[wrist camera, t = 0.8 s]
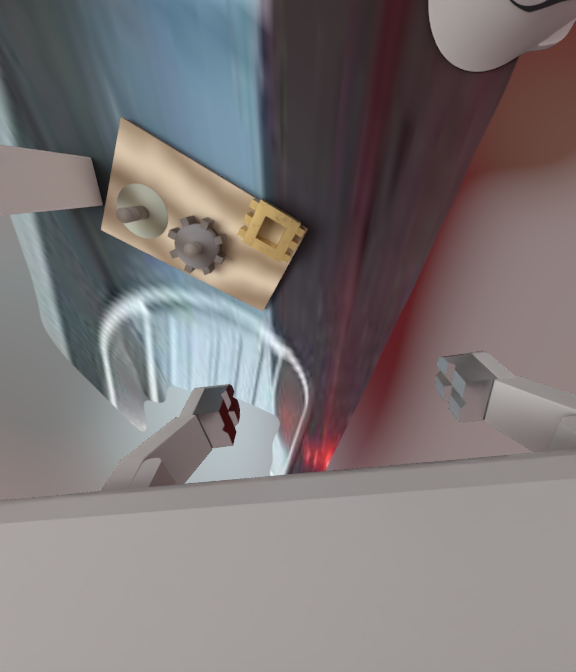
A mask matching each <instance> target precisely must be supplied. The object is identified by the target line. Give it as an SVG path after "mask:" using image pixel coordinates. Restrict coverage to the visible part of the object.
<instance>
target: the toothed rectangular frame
mask: <svg viewBox="0 0 576 672" xmlns="http://www.w3.org/2000/svg"><path fill="white" fill-rule="evenodd" d="M249 207H250V208H252V209H254V210H256V211H255V214H254V215H253V214H252V213H250V212H249V213H247V214H246V215H245V217H244V220H243V221H244V222H245V223H247V224H249V227H248V228H247V227H245V226H244V225H243V226H242V227H241V228H240V229H239V231H238V234H237V235H238V236H240V237H242V238H244V239H243V241H242V242H243V243H245V244H247V245H248V246H250V247H252V248H254V249H256V250H257V251H259V252H261V253H263V254H265V255H266V256H268V257H270V258H272V259H274V260H275V261H277V262H279V263H280V262H281V260H283V261H285V262H286V263H288V262H289V260H290V258H291V252H289V251H287V249H288V247H289V248H291V249H292V250H294V251H295V249H296V247H297V245H298V241H297V240H296V239H294V236H295V234H296V235H298V236H299V237H301V238H302V236H303V234H304V232H305V228H304V227H302V226H300V224H301V221H299V220H298V219H296V218H294V217H293V216H291V215H289V214H288V213H286V212H284V211H283V210H281V209H280V208H278V207H276V206H275V205H273V204H271V203H270V202H268V201H266V200H265V199H261V200H260V201H259V200H257V199H256V198H254V199H252V201H251V203H250V206H249ZM266 216H267V217H269V218H270V219H272V220H274V221H275V222H277V223H279V224H281V225H282V226H284V227H286V229H285V231H284V233H283V235H282V237H281V239H280V241H279V243H278V245H276V244H274V243H272V242H271V241H269V240H267V239H265V238H264V237H262V236H260V235H258V233H259V231H260V229H261V227H262V225H263V223H264V221H265V218H266Z"/></svg>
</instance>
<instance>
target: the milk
mask: <svg viewBox="0 0 576 672" xmlns="http://www.w3.org/2000/svg"><path fill="white" fill-rule="evenodd" d="M101 205H103V203H102V199H101V195H100V191H99V187H98V183H97V179H96V175H95V171H94V167H93V163H92V160H91V158H90V157H84V156H77V155H70V154H63V153H56V152H48V151H41V150H34V149H27V148H20V147H12V146H5V145H0V215H11V214H21V213H31V212H41V211H51V210H61V209H71V208H81V207H91V206H101Z"/></svg>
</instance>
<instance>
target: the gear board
mask: <svg viewBox="0 0 576 672" xmlns="http://www.w3.org/2000/svg"><path fill="white" fill-rule="evenodd" d="M254 198H256V197H254V196H253V195H251V194H250V193H248V192H246V191H245V190H243V189H241V188H240V187H238V186H236V185H235V184H233V183H231V182H230V181H228V180H226V179H225V178H223V177H221V176H220V175H218V174H216V173H215V172H213V171H211V170H210V169H208V168H206V167H205V166H203V165H201V164H200V163H198V162H197V161H195V160H193V159H192V158H190V157H188V156H187V155H185V154H183V153H182V152H180V151H178V150H177V149H175V148H173V147H172V146H170V145H168V144H167V143H165V142H163V141H162V140H160V139H158V138H157V137H155V136H153V135H152V134H150V133H149V132H147V131H145V130H144V129H142V128H140V127H139V126H137V125H135V124H134V123H132V122H130V121H129V120H127V119H124V118H122V117H121V120H120V125H119V131H118V137H117V142H116V148H115V154H114V159H113V165H112V170H111V176H110V182H109V187H108V193H107V199H106V204H105V210H104V215H103V221H102V227H101V230H102V231H104V232H106V233H108V234H110V235H112V236H114V237H116V238H118V239H120V240H122V241H124V242H126V243H128V244H130V245H132V246H134V247H136V248H138V249H140V250H142V251H144V252H146V253H148V254H150V255H152V256H154V257H156V258H158V259H160V260H162V261H164V262H166V263H168V264H170V265H172V266H174V267H175V268H177V269H179V270H181V271H183V272H185V273H187V274H189V275H191V276H193V277H195V278H197V279H199V280H201V281H203V282H205V283H207V284H209V285H211V286H213V287H215V288H217V289H219V290H221V291H223V292H225V293H227V294H229V295H231V296H233V297H235V298H237V299H239V300H241V301H243V302H245V303H247V304H249V305H251V306H253V307H255V308H257V309H259V310H261V311H263V310H264V308H265V306H266V305H267V303H268V301H269V299H270V297H271V295H272V294H273V292H274V290H275V288H276V286H277V285H278V283H279V281H280V279H281V277H282V276H283V274H284V272H285V270H286V268H287V266H288V265H289V263H290V261H291V259H292V257H293V256H294V254H295V252H296V250H297V248H298V246H299V245H300V243H301V241H302V239H303V237H304V236H305V234H306V232H307V230H308V229H307V228H306V227H304V226H302V225H301V224H300V226H302V227H304V228H305V232H304V234H303V236H302V238H301V237H299V236H298V235H296V234H295V236H294V239H296V240H297V241H298V245H297V247H296V249H295V251H294V250H292V249H291V248H289V247H288V249H287V251H289V252H291V258H290V260H289V262H288V263H286V262H285V261H283V260H281V262H280V263H279V262H277V261H275V260H274V259H272V258H270V257H268V256H266V255H265V254H263V253H261V252H259V251H257V250H256V249H254V248H252V247H250V246H248V245H247V244H245V243H243V242H242V241H243V239H244V238H242V237H240V236H238V235H237V234H238V231H239V229H240V228H241V227H242V226H243V225H244V226H245V227H247V228H248V227H249V224H247V223H245V222H244V221H243V220H244V217H245V215H246V214H247V213H249V212H250V213H252V214H253V215H254V214H255V211H256V210H254V209H252V208H250V207H249V206H250V203H251V201H252V199H254ZM256 199H257V200H259V199H258V198H256ZM259 201H260V200H259ZM285 229H286V227H284V226H282V225H281V224H279V223H277V222H275V221H274V220H272V219H270V218H269V217H267V216H266V218H265V221H264V223H263V225H262V227H261V229H260V231H259V233H258V235H260V236H262V237H264V238H265V239H267V240H269V241H271V242H272V243H274V244H276V245H278V243H279V241H280V239H281V237H282V235H283V233H284V231H285Z"/></svg>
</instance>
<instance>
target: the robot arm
mask: <svg viewBox="0 0 576 672" xmlns="http://www.w3.org/2000/svg"><path fill="white" fill-rule="evenodd" d="M428 4H429V19H430V25H431V30H432V33H433V36H434V39H435V42H436V44H437V46H438V48H439V50H440V51H441V53H442V54H443V55H444V57H445V58H446V59H447V60H448V61H449V62H451V63H452V64H453V65H455V66H456V67H458V68H460V69H463V70H467V71H473V72H480V71H487V70H491V69H494V68H497V67H500V66H502V65H504V64H506V63H508V62H509V61H511V60H513V59H514V58H516V57H518V56H519V55H521V54H523V53H525V52H528V51H536V50H543V49H547V48H550V47H552V46H554V45H555V44H557V43H558V42H560V41H561V40H562V39H563V38H564V37H565V36H566V35H567V34H568V32H569V30H570V29H571V27H572V26H573V24H574V22H575V21H576V0H429V1H428ZM437 366H438V368H439V369H440V370H441V371H440V372H439V373H438V374H437V375H436V387H437V391H438V393H439V395H440V397H441V398H442V400H444V401H446V402H448V403H449V410H450V411H451V412H452V414H453V415H454V417H455V418H456V419H457V421H458V422H468V421H480V420H484V422H486V423H488V424H489V425H491V426H493V427H494V428H496V429H497V430H499V431H500V432H502V433H504V434H505V435H507V436H509V437H510V438H512V439H513V440H515V441H517V442H518V443H520V444H521V445H523V446H524V447H526V448H528V449H529V450H531V451H532V452H534V453H524V454H513V455H502V456H491V457H480V458H468V459H457V460H446V461H434V462H423V463H412V464H401V465H390V466H379V467H367V468H356V469H344V470H333V471H322V472H311V473H300V474H289V475H277V476H266V477H255V478H245V479H233V480H221V481H211V482H199V483H188V484H184V483H185V482H186V481H187V480H188V479H189V477H190V476H191V475H192V473H193V472H194V471H195V470H196V469H197V467H198V466H199V465H200V464H201V463H202V461H203V460H204V459H205V458H206V457H207V455H208V454H209V453H210V452H211V451H212V448H219V447H226V446H233V443H234V439H235V435H236V430H235V426H236V425H237V424H238V423H239V418H240V408H239V404H238V400H237V399H235V398H234V397H233V395H234V390H233V387H232V385H230V384H227V385H217V386H208V387H200V388H195V389H193V391H192V393H191V395H190V397H189V398H188V400H187V402H186V404H185V406H184V408H183V410H182V412H181V414H180V416H179V417H175V418H174V419H173V420H171V421H170V422H169V423H168V424H166V425H165V426H164V427H163V428H161V429H160V430H159V431H157V432H156V433H155V434H154V435H152V436H151V437H150V438H148V439H147V440H146V441H145V442H143V443H142V444H141V445H139V446H138V447H137V448H136V449H134V450H133V451H132V452H131V453H129V454H128V455H127V456H125V457H124V458H123V459H122V460H120V462H119V463H118V465H117V466H116V468H115V469H114V471H113V472H112V474H111V476H110V477H109V479H108V480H107V482H106V483H105V485H104V486H103V488H102V490H101V491H98V492H87V493H76V494H65V495H54V496H42V497H31V498H19V499H5V500H0V672H576V395H573V394H570V393H567V392H564V391H562V390H559V389H556V388H553V387H550V386H547V385H545V384H541V383H539V382H536V381H533V380H530V379H527V378H524V377H516V376H515V375H513V374H512V373H511V372H510V371H509V370H507V369H506V368H505V367H504V366H503V365H502V364H500V363H499V362H498V361H497V360H496V359H494V358H493V357H492V356H491V355H490V354H488V353H487V352H486V351H476V352H470V353H467V354H459V355H451V356H444V357H440V358H439V359H438V363H437Z"/></svg>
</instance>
